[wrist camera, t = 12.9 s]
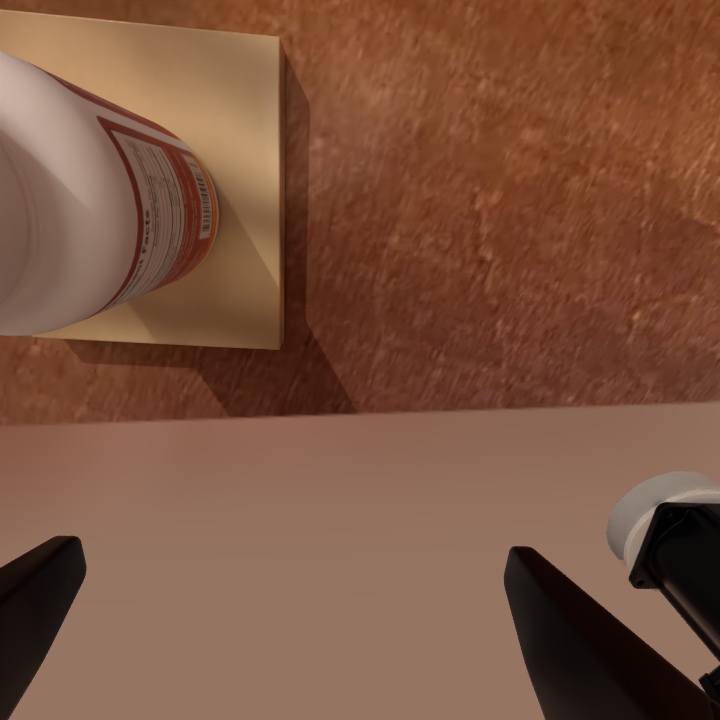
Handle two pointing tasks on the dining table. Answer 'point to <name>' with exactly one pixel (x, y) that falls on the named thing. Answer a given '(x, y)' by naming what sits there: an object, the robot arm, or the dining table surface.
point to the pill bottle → (90, 203)
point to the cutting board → (211, 145)
